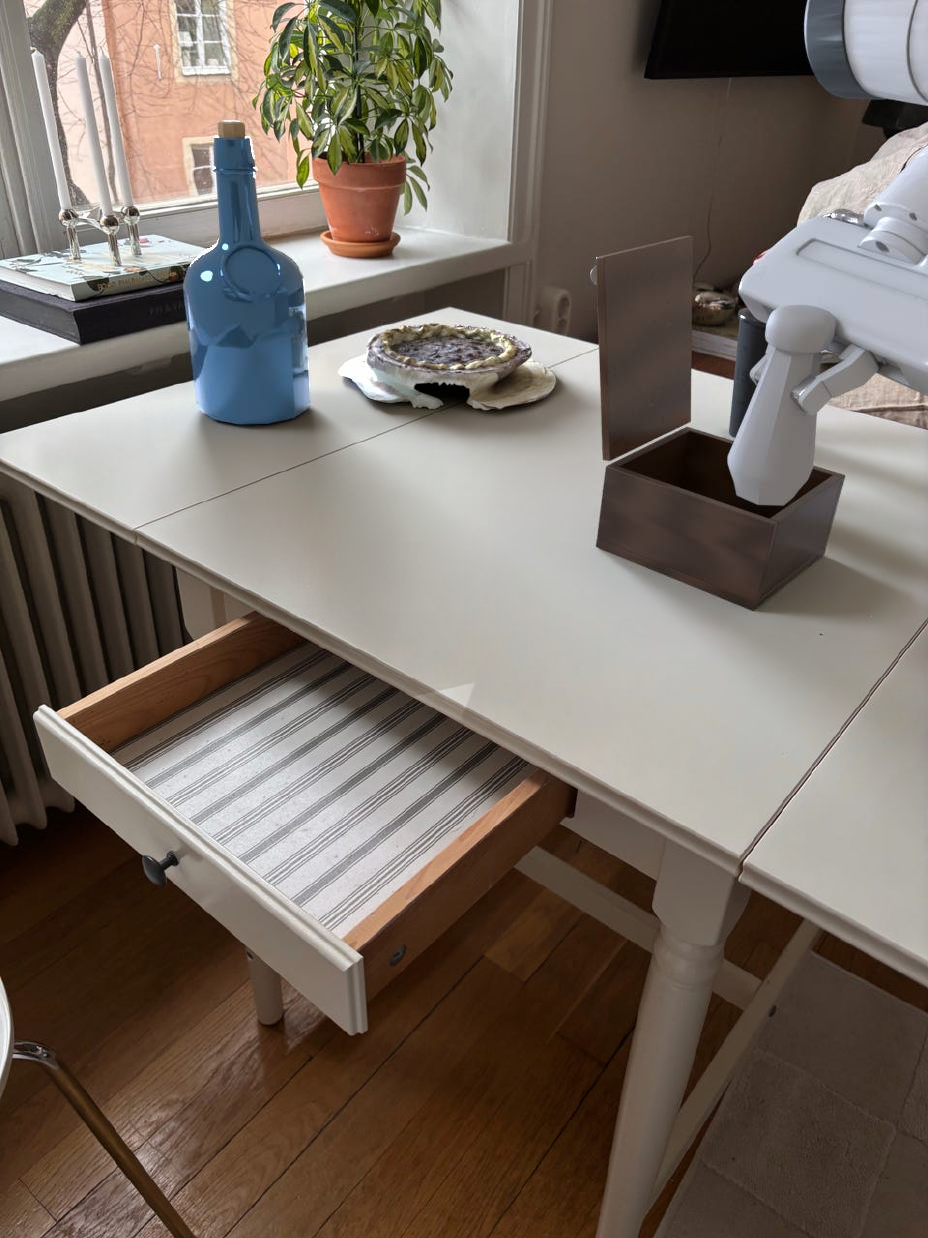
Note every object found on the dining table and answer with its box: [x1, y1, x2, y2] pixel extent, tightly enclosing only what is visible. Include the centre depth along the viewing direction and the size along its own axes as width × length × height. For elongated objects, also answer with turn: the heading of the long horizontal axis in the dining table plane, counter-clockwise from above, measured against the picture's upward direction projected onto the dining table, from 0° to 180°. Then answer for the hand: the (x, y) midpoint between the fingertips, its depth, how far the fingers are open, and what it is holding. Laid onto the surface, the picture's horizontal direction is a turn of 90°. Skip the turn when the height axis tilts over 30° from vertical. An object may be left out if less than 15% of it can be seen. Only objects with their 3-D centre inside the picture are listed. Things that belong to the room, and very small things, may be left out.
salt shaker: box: [728, 304, 836, 505], centre depth 65 cm, size 6×6×13 cm
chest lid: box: [590, 235, 693, 462], centre depth 83 cm, size 16×14×4 cm
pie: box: [337, 322, 557, 411], centre depth 122 cm, size 28×27×5 cm
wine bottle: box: [182, 119, 311, 425], centre depth 104 cm, size 14×13×30 cm
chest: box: [595, 426, 846, 612], centre depth 84 cm, size 16×14×8 cm
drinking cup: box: [728, 306, 769, 439], centre depth 105 cm, size 8×8×20 cm
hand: (779, 395), depth 64 cm, fingers closed on salt shaker, 3 cm apart
